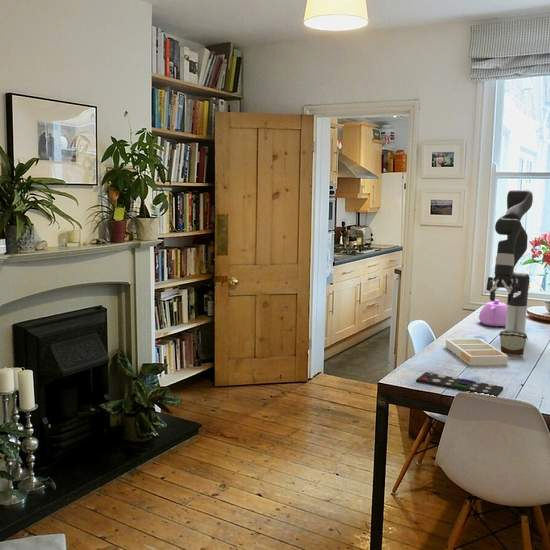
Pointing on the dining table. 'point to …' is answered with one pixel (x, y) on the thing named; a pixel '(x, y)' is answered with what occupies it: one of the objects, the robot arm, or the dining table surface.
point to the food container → (512, 342)
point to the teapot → (493, 313)
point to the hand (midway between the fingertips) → (500, 301)
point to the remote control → (459, 384)
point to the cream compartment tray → (476, 352)
